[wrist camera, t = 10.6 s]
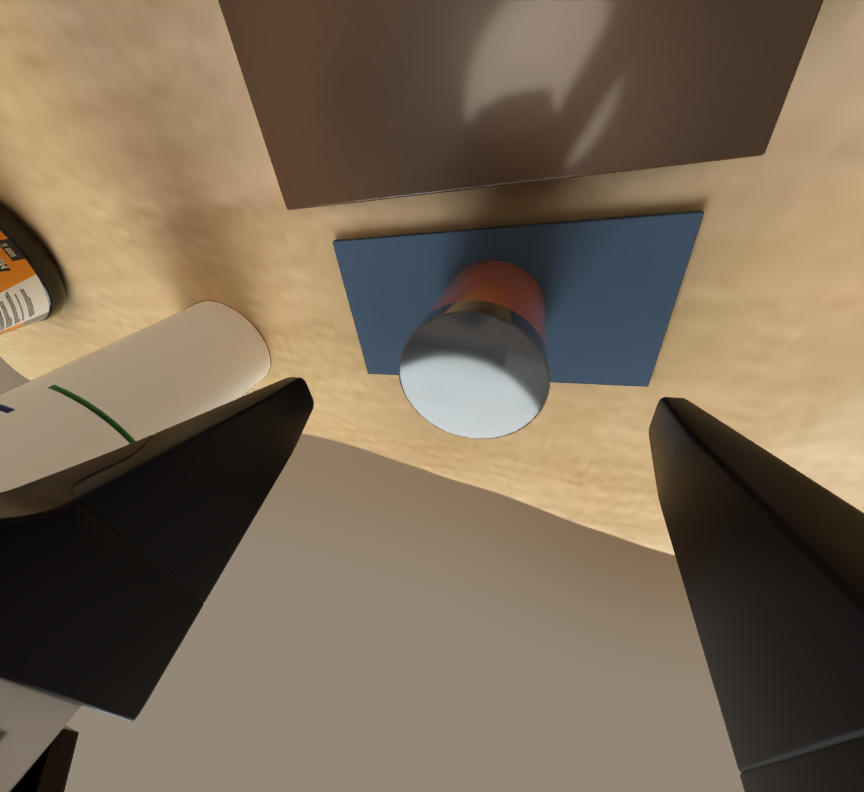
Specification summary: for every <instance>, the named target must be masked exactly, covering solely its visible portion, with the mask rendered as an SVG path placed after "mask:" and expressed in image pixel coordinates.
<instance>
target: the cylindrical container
mask: <svg viewBox="0 0 864 792" xmlns="http://www.w3.org/2000/svg"><path fill="white" fill-rule="evenodd" d="M270 365H271V363H270V354H269V351H268V348H267V346H266V343H265V342H264V340H263V338H262V336H261V335H260V334H259V332H258V331H257V330H256V328H255V327H254V326H253V325H252V324H251V323H250V322H249V321H248V320H247V319H246V318H245V317H243V316H242V315H241V314H240V313H238V312H237V311H235V310H233V309H232V308H230V307H228V306H226V305H223V304H221V303H217V302H211V301H205V302H201V303H198V304H196V305H194V306H192V307H189V308H187V309H185V310H183V311H181V312H179V313H177V314H174V315H172V316H170V317H168V318H166V319H164V320H162V321H159V322H157V323H155V324H153V325H151V326H149V327H146V328H144V329H142V330H140V331H138V332H136V333H134V334H131V335H129V336H127V337H125V338H123V339H121V340H119V341H116V342H114V343H112V344H110V345H108V346H106V347H103V348H101V349H99V350H97V351H95V352H93V353H90V354H88V355H86V356H84V357H82V358H80V359H77V360H75V361H73V362H71V363H69V364H67V365H64V366H62V367H60V368H58V369H56V370H54V371H51V372H49V373H47V374H45V375H43V376H41V377H38V378H36V379H34V380H32V381H30V382H28V383H25V384H23V385H21V386H19V387H17V388H15V389H13V390H10V391H8V392H6V393H4V394H2V395H0V493H1V492H4V491H8V490H11V489H14V488H17V487H20V486H22V485H25V484H28V483H30V482H33V481H36V480H38V479H41V478H43V477H46V476H49V475H51V474H54V473H57V472H59V471H62V470H65V469H67V468H70V467H72V466H75V465H78V464H80V463H83V462H86V461H88V460H91V459H93V458H96V457H98V456H101V455H104V454H106V453H109V452H111V451H114V450H116V449H119V448H121V447H123V446H126V445H128V444H131V443H133V442H136V441H138V440H140V439H143V438H145V437H148V436H150V435H155V433H157V432H160V431H162V430H164V429H167V428H169V427H172V426H174V425H176V424H179V423H181V422H183V421H186V420H188V419H191V418H193V417H195V416H198V415H200V414H202V413H205V412H207V411H210V410H212V409H214V408H217V407H219V406H221V405H224V404H226V403H229V402H231V401H233V400H236V399H238V398H240V397H241V396H242V395H243V394H244V393H246V392H247V391H248V390H249V389H250V388H252V387H253V386H254V385H255V384H256V383H258V382H259V381H260V380H261V379H262V378H264V377H265V376H266V375H267V373H268V372H269V369H270Z"/></svg>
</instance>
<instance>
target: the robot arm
mask: <svg viewBox="0 0 864 792" xmlns="http://www.w3.org/2000/svg"><path fill="white" fill-rule="evenodd" d="M313 406H314V402H313V398H312V396H311V394H310V391H309V389H308V386H307V384H306V382H305V381H304V379H302V378H296V377H289V378H286V379H283V380H281V381H279V382H276V383H274V384H271V385H269V386H267V387H264V388H262V389H260V390H257V391H255V392H252V393H250V394H248V395H245V396H243V397H241V398H238V399H236V400H233V401H231V402H229V403H226V404H224V405H221V406H219V407H217V408H214V409H212V410H210V411H207V412H205V413H202V414H200V415H198V416H195V417H193V418H191V419H188V420H186V421H183V422H181V423H179V424H176V425H174V426H172V427H169V428H167V429H164V430H162V431H160V432H157V433H155V435H150V436H148V437H145V438H143V439H140V440H138V441H136V442H133V443H131V444H128V445H126V446H123V447H121V448H119V449H116V450H114V451H111V452H109V453H106V454H104V455H101V456H98V457H96V458H93V459H91V460H88V461H86V462H83V463H80V464H78V465H75V466H72V467H70V468H67V469H65V470H62V471H59V472H57V473H54V474H51V475H49V476H46V477H43V478H41V479H38V480H36V481H33V482H30V483H28V484H25V485H22V486H20V487H17V488H14V489H11V490H8V491H4V492H1V493H0V792H64V790H65V785H66V782H67V778H68V773H69V770H70V766H71V762H72V758H73V754H74V749H75V745H76V741H77V737H78V733H79V732H77V731H75V730H73V729H71V728H69V727H67V726H66V724H67V723H68V722H69V720H70V719H71V718H72V717H73V716H74V714H75V713H76V712H77V711H78V709H79V708H80V707H81V706H82V705H83V706H86V707H89V708H92V709H95V710H98V711H101V712H104V713H107V714H110V715H113V716H116V717H119V718H122V719H125V720H128V721H131V722H133V721H134V720H135V719H136V718H137V716H138V715H139V713H140V711H141V710H142V709H143V707H144V705H145V704H146V702H147V700H148V699H149V697H150V695H151V694H152V692H153V690H154V688H155V686H156V685H157V683H158V681H159V680H160V678H161V676H162V675H163V673H164V671H165V669H166V668H167V666H168V665H169V663H170V661H171V659H172V658H173V656H174V654H175V652H176V651H177V649H178V647H179V646H180V644H181V642H182V641H183V639H184V637H185V635H186V634H187V632H188V630H189V629H190V627H191V625H192V623H193V622H194V620H195V618H196V617H197V615H198V613H199V612H200V610H201V608H202V606H203V603H204V602H205V601H206V599H207V597H208V595H209V594H210V592H211V591H212V589H213V587H214V585H215V584H216V582H217V580H218V578H219V577H220V575H221V574H222V572H223V570H224V568H225V567H226V565H227V563H228V562H229V560H230V558H231V556H232V555H233V553H234V551H235V550H236V548H237V546H238V545H239V543H240V541H241V539H242V538H243V536H244V534H245V533H246V531H247V529H248V528H249V526H250V524H251V522H252V521H253V519H254V517H255V516H256V514H257V512H258V510H259V509H260V507H261V505H262V504H263V502H264V500H265V499H266V497H267V495H268V493H269V492H270V490H271V488H272V487H273V485H274V483H275V481H276V480H277V478H278V476H279V474H280V473H281V471H282V470H283V468H284V466H285V464H286V463H287V461H288V459H289V457H290V456H291V454H292V452H293V450H294V448H295V446H296V444H297V442H298V440H299V438H300V436H301V433H302V431H303V429H304V427H305V425H306V422H307V420H308V418H309V416H310V414H311V412H312V409H313ZM649 439H650V446H651V452H652V459H653V465H654V472H655V479H656V485H657V491H658V496H659V501H660V505H661V508H662V512H663V515H664V519H665V522H666V525H667V529H668V532H669V536H670V539H671V542H672V546H673V549H674V552H675V556H676V559H677V563H678V566H679V569H680V573H681V576H682V580H683V583H684V586H685V590H686V593H687V596H688V600H689V603H690V606H691V610H692V613H693V617H694V620H695V623H696V627H697V630H698V634H699V637H700V640H701V644H702V647H703V651H704V654H705V657H706V661H707V664H708V668H709V671H710V674H711V678H712V681H713V685H714V688H715V691H716V695H717V698H718V701H719V705H720V708H721V712H722V715H723V718H724V721H725V725H726V729H727V732H728V735H729V739H730V742H731V745H732V749H733V752H734V755H735V759H736V762H737V765H738V769H739V771H740V772H741V775H740V777H741V780H742V784H743V787H744V791H745V792H864V513H863V512H861V511H860V510H858V509H856V508H855V507H853V506H852V505H850V504H849V503H847V502H845V501H844V500H842V499H841V498H839V497H838V496H836V495H835V494H833V493H831V492H830V491H828V490H827V489H825V488H824V487H822V486H821V485H819V484H817V483H816V482H814V481H813V480H811V479H810V478H808V477H807V476H805V475H803V474H802V473H800V472H799V471H797V470H796V469H794V468H793V467H791V466H789V465H788V464H786V463H785V462H783V461H782V460H780V459H779V458H777V457H775V456H774V455H772V454H771V453H769V452H768V451H766V450H765V449H763V448H761V447H760V446H758V445H757V444H755V443H754V442H752V441H750V440H749V439H747V438H746V437H744V436H743V435H741V434H740V433H738V432H736V431H735V430H733V429H732V428H730V427H729V426H727V425H726V424H724V423H722V422H721V421H719V420H718V419H716V418H715V417H713V416H712V415H710V414H708V413H707V412H705V411H704V410H702V409H701V408H699V407H698V406H696V405H694V404H693V403H691V402H690V401H688V400H686V399H684V398H671V397H664V398H662V399H660V401H659V402H658V405H657V407H656V410H655V413H654V416H653V419H652V421H651V424H650V428H649Z"/></svg>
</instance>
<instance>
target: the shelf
mask: <svg viewBox="0 0 864 792" xmlns="http://www.w3.org/2000/svg"><path fill="white" fill-rule="evenodd" d="M218 1H219V4H220V7H221V10H222V13H223V16H224V19H225V22H226V25H227V28H228V31H229V34H230V37H231V40H232V43H233V46H234V49H235V52H236V55H237V59H238V62H239V65H240V68H241V71H242V74H243V77H244V80H245V83H246V86H247V89H248V92H249V95H250V98H251V101H252V104H253V107H254V110H255V113H256V116H257V119H258V122H259V125H260V128H261V131H262V135H263V138H264V141H265V144H266V147H267V150H268V153H269V156H270V159H271V162H272V165H273V168H274V171H275V174H276V177H277V180H278V183H279V186H280V189H281V192H282V195H283V198H284V201H285V204H286V207H287V209H288V210H294V209H303V208H312V207H320V206H329V205H338V204H346V203H355V202H364V201H372V200H381V199H390V198H398V197H407V196H416V195H424V194H433V193H442V192H450V191H459V190H468V189H476V188H485V187H494V186H502V185H511V184H520V183H528V182H537V181H545V180H554V179H563V178H571V177H580V176H589V175H597V174H606V173H615V172H623V171H632V170H641V169H649V168H658V167H667V166H675V165H684V164H693V163H701V162H710V161H719V160H727V159H736V158H745V157H753V156H761V155H763V154H764V153H765V151H766V149H767V146H768V144H769V141H770V138H771V136H772V133H773V131H774V128H775V125H776V123H777V120H778V117H779V115H780V112H781V110H782V107H783V104H784V102H785V99H786V97H787V94H788V91H789V89H790V86H791V83H792V81H793V78H794V76H795V73H796V70H797V68H798V65H799V63H800V60H801V57H802V55H803V52H804V49H805V47H806V44H807V42H808V39H809V36H810V34H811V31H812V28H813V26H814V23H815V21H816V18H817V15H818V13H819V10H820V8H821V5H822V2H823V0H218Z"/></svg>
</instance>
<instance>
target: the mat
mask: <svg viewBox="0 0 864 792" xmlns="http://www.w3.org/2000/svg"><path fill="white" fill-rule="evenodd" d="M703 214H704V212H703V211H688V212H676V213H664V214H651V215H639V216H627V217H614V218H602V219H590V220H577V221H565V222H553V223H540V224H528V225H516V226H503V227H491V228H479V229H467V230H454V231H442V232H430V233H417V234H405V235H393V236H380V237H368V238H356V239H343V240H335V241H333V246H334V249H335V253H336V257H337V260H338V264H339V268H340V271H341V275H342V279H343V282H344V286H345V290H346V293H347V297H348V301H349V304H350V308H351V312H352V315H353V319H354V323H355V326H356V330H357V334H358V337H359V341H360V345H361V348H362V352H363V356H364V360H365V363H366V367H367V371H368V374H387V375H399V360H400V355H401V352H402V349H403V347H404V345H405V343H406V341H407V339H408V338H409V336H410V335H411V334H412V332H413V331H414V329H415V328H416V326H417V325H418V324H419V322H421V321H422V320H423V319H424V318H425V317H426V316H427V314H428V313H429V311H430V310H431V308H432V307H433V305H434V304H435V302H436V301H437V299H438V298H439V297H440V295H441V294H442V292H443V291H444V289H445V288H446V286H447V285H448V283H449V282H450V281H451V279H452V278H453V277H454V276H455V275H456V274H457V273H458V272H460V271H461V270H462V269H464V268H466V267H467V266H469V265H472V264H474V263H477V262H481V261H487V260H499V261H506V262H509V263H512V264H515V265H517V266H519V267H521V268H522V269H524V270H525V271H527V272H528V273H529V274H530V275H531V276H532V277H533V278H534V279H535V280H536V281H537V283H538V285H539V286H540V288H541V290H542V292H543V295H544V298H545V303H546V335H547V352H548V356H549V363H550V382H560V383H581V384H603V385H624V386H646V387H648V385H649V382H650V379H651V376H652V373H653V369H654V366H655V363H656V360H657V357H658V354H659V351H660V348H661V345H662V342H663V338H664V335H665V332H666V329H667V326H668V323H669V320H670V317H671V314H672V311H673V307H674V304H675V301H676V298H677V295H678V292H679V289H680V286H681V283H682V280H683V276H684V273H685V270H686V267H687V264H688V261H689V258H690V255H691V252H692V249H693V245H694V242H695V239H696V236H697V233H698V230H699V227H700V224H701V221H702V217H703Z"/></svg>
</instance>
